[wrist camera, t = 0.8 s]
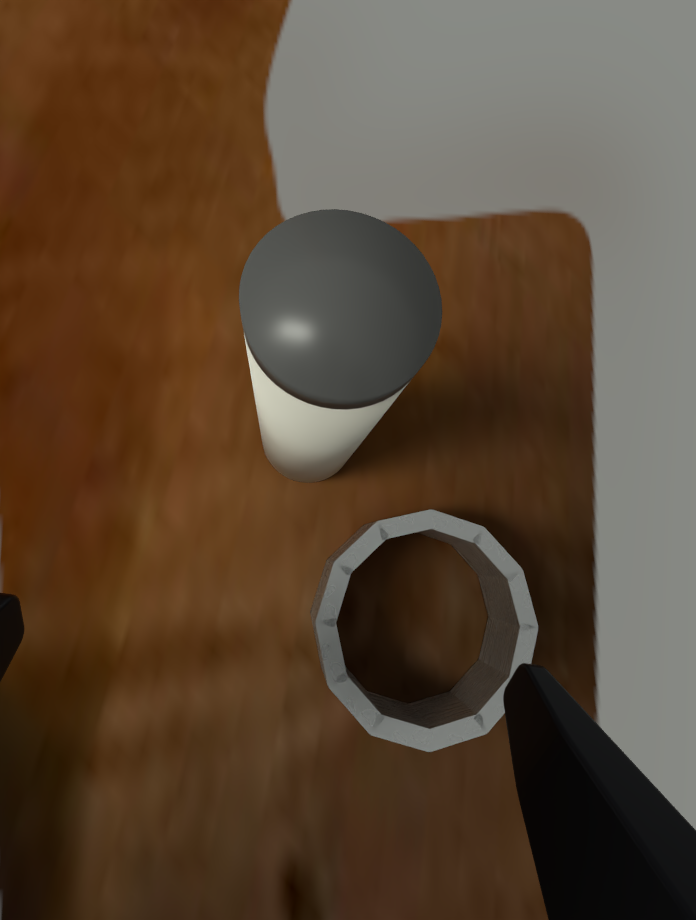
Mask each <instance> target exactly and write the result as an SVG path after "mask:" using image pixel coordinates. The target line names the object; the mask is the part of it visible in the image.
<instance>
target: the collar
mask: <svg viewBox="0 0 696 920" xmlns="http://www.w3.org/2000/svg"><path fill="white" fill-rule="evenodd" d="M415 532H416V533H419V534H422V535H425V536H428V537H431V538H434V539H437V540H440V541H443V542H446V543H449V544H451V545H452V547H453V548H454V549H455V550H456V551H457V552H458V553H459V554H460V555H461V556H462V558H463V559H464V560H465V561H466V562H467V563H468V564H469V565H470V566H471V568H472V569H473V570H474V571H475V572H476V573H477V574H478V577H479V581H480V585H481V589H482V593H483V597H484V601H485V605H486V608H487V612H488V616H489V617H488V621H487V625H486V630H485V634H484V638H483V643H482V647H481V651H480V656H479V659H478V660H477V662H476V663H475V664H474V665H473V666H472V667H471V668H470V669H469V670H468V672H467V673H466V674H465V675H464V676H463V677H462V678H461V679H460V681H459V682H458V683H457V684H456V685H455V686H454V687H453V688H452V689H451V691H449V692H446V693H443V694H439V695H436V696H433V697H429V698H426V699H422V700H419V701H416V702H412V703H405V702H402V701H399V700H395V699H392V698H389V697H385V696H382V695H378V694H375V693H372V692H368V691H367V690H366V689H365V688H364V687H363V686H362V685H361V683H360V682H359V681H358V680H357V679H356V678H355V677H354V675H353V674H352V673H351V672H350V671H349V670H348V669H347V668H346V666H345V664H344V659H343V654H342V649H341V644H340V639H339V635H338V630H337V625H336V621H337V618H338V615H339V612H340V608H341V605H342V602H343V598H344V595H345V592H346V588H347V585H348V582H349V578H350V575H351V573H352V572H353V571H354V570H355V569H356V568H357V567H358V566H359V565H360V564H361V563H362V562H363V561H364V560H365V559H366V558H367V557H368V556H369V555H370V554H371V553H372V552H373V551H374V550H376V549H377V548H378V547H379V546H380V545H381V544H382V543H383V542H384V541H385V540H386V539H389V538H393V537H398V536H402V535H407V534H411V533H415ZM310 613H311V618H312V623H313V628H314V633H315V638H316V643H317V648H318V653H319V658H320V663H321V667H322V670H323V673H324V676H325V679H326V682H327V685H328V687H329V688H330V689H331V691H332V692H333V693H334V694H335V695H336V696H337V697H338V699H339V700H340V701H341V702H342V703H343V704H344V705H345V707H346V708H347V709H348V710H349V711H350V712H351V713H352V715H353V716H354V717H355V718H356V719H357V720H358V721H359V723H360V724H361V725H362V726H363V727H364V728H365V729H366V731H367V732H368V733H369V734H371V735H372V736H375V737H379V738H382V739H386V740H389V741H392V742H396V743H399V744H403V745H406V746H410V747H413V748H417V749H420V750H423V751H427V752H429V751H430V752H432V751H435V750H438V749H441V748H444V747H447V746H451V745H454V744H457V743H460V742H463V741H466V740H469V739H472V738H476V737H479V736H482V735H485V734H486V733H488V732H489V731H490V730H491V728H492V727H493V726H494V725H495V724H496V722H497V721H498V720H499V719H500V718H501V717H502V715H503V714H504V713H505V710H504V703H503V695H504V690H505V688H506V686H507V684H508V682H509V681H510V679H511V677H512V676H513V674H514V672H515V671H516V669H517V667H518V666H519V665H520V664H522V663H527V664H531V662H532V657H533V652H534V647H535V642H536V637H537V632H538V628H537V627H538V624H537V620H536V616H535V612H534V609H533V605H532V601H531V598H530V594H529V590H528V586H527V583H526V579H525V575H524V572H523V570H522V568H521V567H520V566H519V565H518V564H517V562H516V561H515V560H514V559H513V558H512V557H511V556H510V555H509V554H508V553H507V551H506V550H505V549H504V548H503V547H502V546H501V545H500V544H499V543H498V542H497V540H496V539H495V538H494V537H493V536H492V535H491V534H490V533H489V532H488V530H487V529H486V528H485V527H483V526H480V525H477V524H474V523H471V522H468V521H465V520H462V519H459V518H456V517H453V516H450V515H447V514H444V513H441V512H438V511H435V510H431V509H430V510H426V511H421V512H417V513H412V514H408V515H403V516H399V517H394V518H390V519H385V520H380V521H376V522H372V523H368V524H365V525H363V526H362V527H361V528H360V529H359V530H358V531H357V532H356V533H355V534H354V535H353V536H351V537H350V538H349V539H348V540H347V541H346V542H345V543H344V544H343V545H342V546H341V547H340V548H339V549H338V550H337V551H335V552H334V553H333V554H332V555H331V556H330V557H329V558H328V559H327V560H326V564H325V567H324V570H323V573H322V576H321V579H320V583H319V586H318V589H317V592H316V595H315V598H314V602H313V605H312V608H311V611H310Z"/></svg>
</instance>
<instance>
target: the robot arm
mask: <svg viewBox="0 0 696 920" xmlns="http://www.w3.org/2000/svg"><path fill="white" fill-rule="evenodd" d="M23 635H24V623H23V617H22V612H21V606H20V601H19V598H18V597H17V596H16V595H12V594H5V593H0V681H1V680H2V678H3V676H4V674H5V672H6V670H7V668H8V666H9V664H10V662H11V660H12V658H13V657H14V655H15V653H16V651H17V649H18V647H19V645H20V643H21V641H22V638H23ZM503 703H504V710H505V716H506V723H507V730H508V736H509V743H510V750H511V756H512V763H513V770H514V776H515V782H516V787H517V792H518V797H519V801H520V805H521V809H522V813H523V818H524V822H525V826H526V830H527V834H528V838H529V842H530V846H531V850H532V854H533V858H534V862H535V866H536V870H537V874H538V878H539V882H540V886H541V891H542V895H543V899H544V903H545V907H546V911H547V915H548V919H549V920H696V830H695V829H694V828H693V827H692V826H691V825H690V824H689V823H688V822H687V820H686V819H685V818H684V817H683V816H682V815H681V814H680V813H679V812H678V811H677V810H676V809H675V807H673V806H672V804H671V803H670V802H669V801H668V800H667V799H666V798H665V797H664V796H663V795H662V793H661V792H660V791H659V790H658V789H657V788H656V787H655V786H654V785H653V784H652V783H651V782H650V781H649V779H648V778H647V777H646V776H645V775H644V774H643V773H642V772H641V771H640V770H639V769H638V768H637V767H636V765H635V764H634V763H633V762H632V761H631V760H630V759H629V758H628V757H627V756H626V755H625V754H624V752H622V750H621V749H620V748H619V747H618V746H617V745H616V744H615V743H614V742H613V741H612V740H611V738H610V737H608V735H607V734H606V733H605V732H604V731H603V730H602V729H601V728H600V727H599V725H598V724H597V723H596V722H595V721H594V720H593V719H592V718H591V717H590V716H589V715H588V714H587V713H586V711H585V710H584V709H583V708H582V707H581V706H580V705H579V704H578V703H577V702H576V701H575V700H574V699H573V697H572V696H571V695H570V694H569V693H568V692H567V691H566V690H565V689H564V688H563V687H562V686H561V684H560V683H559V682H558V681H557V680H556V679H555V678H554V677H553V676H552V675H551V674H550V673H549V672H548V670H546V669H545V668H544V667H543V666H540V665H535V664H527V663H522V664H520V665H519V666H518V667H517V669H516V671H515V672H514V674H513V676H512V677H511V679H510V681H509V682H508V684H507V686H506V688H505V690H504V695H503Z"/></svg>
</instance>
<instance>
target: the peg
mask: <svg viewBox="0 0 696 920" xmlns="http://www.w3.org/2000/svg"><path fill="white" fill-rule="evenodd" d="M239 304H240V312H241V319H242V325H243V330H244V336H245V342H246V348H247V354H248V360H249V366H250V372H251V378H252V384H253V390H254V396H255V402H256V408H257V414H258V420H259V426H260V431H261V437H262V443H263V448H264V452H265V454H266V457H267V459H268V460H269V462H270V463H271V465H272V466H273V467H274V468H275V469H276V470H277V471H278V472H279V473H281V474H282V475H283V476H285V477H287V478H289V479H291V480H294V481H298V482H305V483H312V482H318V481H322V480H325V479H327V478H329V477H331V476H333V475H334V474H335V473H337V472H338V471H339V470H340V469H341V468H342V467H343V465H344V464H345V463H346V462H347V460H348V459H349V458H350V457H351V455H352V454H353V453H354V452H355V450H356V449H357V448H358V446H359V445H360V444H361V443H362V441H363V440H364V439H365V438H366V436H367V435H368V434H369V433H370V431H371V430H372V429H373V427H374V426H375V425H376V424H377V422H378V421H379V420H380V419H381V417H382V416H383V415H384V414H385V412H386V411H387V410H388V409H389V407H390V406H391V405H392V403H393V402H394V401H395V400H396V398H397V397H398V396H399V395H400V393H401V392H402V391H403V390H404V388H405V387H406V386H407V384H408V383H409V382H410V381H411V379H412V378H413V377H414V376H415V374H416V373H417V372H418V371H419V369H420V368H421V367H422V365H423V364H424V363H425V361H426V360H427V359H428V357H429V356H430V354H431V352H432V350H433V348H434V347H435V344H436V341H437V338H438V336H439V331H440V327H441V319H442V303H441V296H440V291H439V287H438V284H437V281H436V278H435V275H434V273H433V271H432V269H431V267H430V265H429V264H428V262H427V260H426V259H425V257H424V256H423V254H422V253H421V252H420V251H419V250H418V248H417V247H416V246H415V245H414V244H413V243H412V242H411V241H410V240H409V239H408V238H407V237H406V236H404V235H403V234H402V233H400V232H399V231H398V230H397V229H395V228H393V227H392V226H390V225H388V224H387V223H385V222H383V221H381V220H378V219H376V218H374V217H371V216H368V215H365V214H362V213H357V212H353V211H348V210H335V209H334V210H319V211H312V212H308V213H304V214H301V215H298V216H295V217H293V218H290V219H288V220H286V221H284V222H283V223H281V224H279V225H278V226H276V227H275V228H273V229H272V230H271V231H270V232H268V233H267V234H266V235H265V236H264V237H263V238H262V239H261V240H260V241H259V243H258V244H257V245H256V247H255V248H254V249H253V251H252V252H251V254H250V256H249V258H248V260H247V262H246V264H245V267H244V270H243V273H242V276H241V282H240V288H239Z"/></svg>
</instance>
